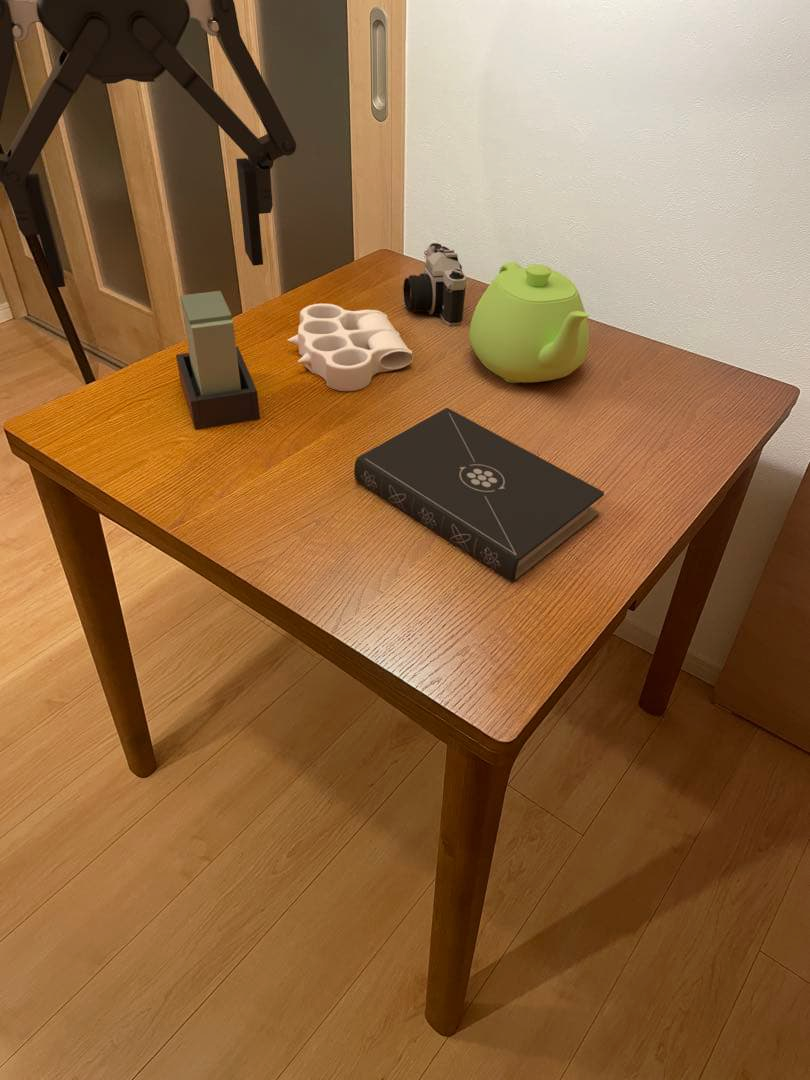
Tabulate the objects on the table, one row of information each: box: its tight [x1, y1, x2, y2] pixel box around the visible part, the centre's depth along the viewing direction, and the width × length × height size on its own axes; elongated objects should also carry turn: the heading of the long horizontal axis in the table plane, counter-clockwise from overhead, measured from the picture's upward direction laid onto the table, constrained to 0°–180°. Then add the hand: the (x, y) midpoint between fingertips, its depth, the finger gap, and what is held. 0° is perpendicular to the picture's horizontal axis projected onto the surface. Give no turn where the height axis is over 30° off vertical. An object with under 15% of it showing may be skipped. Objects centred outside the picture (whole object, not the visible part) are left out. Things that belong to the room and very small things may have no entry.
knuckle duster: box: [286, 303, 414, 392], centre depth 105 cm, size 3×18×15 cm
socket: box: [175, 345, 261, 430], centre depth 96 cm, size 8×11×4 cm
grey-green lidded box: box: [179, 290, 241, 396], centre depth 93 cm, size 5×8×12 cm, turn 21°
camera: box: [403, 242, 468, 327], centre depth 115 cm, size 13×8×9 cm, turn 17°
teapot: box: [468, 262, 590, 384], centre depth 101 cm, size 22×15×13 cm
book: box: [353, 407, 605, 583], centre depth 84 cm, size 22×15×3 cm
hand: (159, 268), depth 57 cm, fingers open, 13 cm apart
